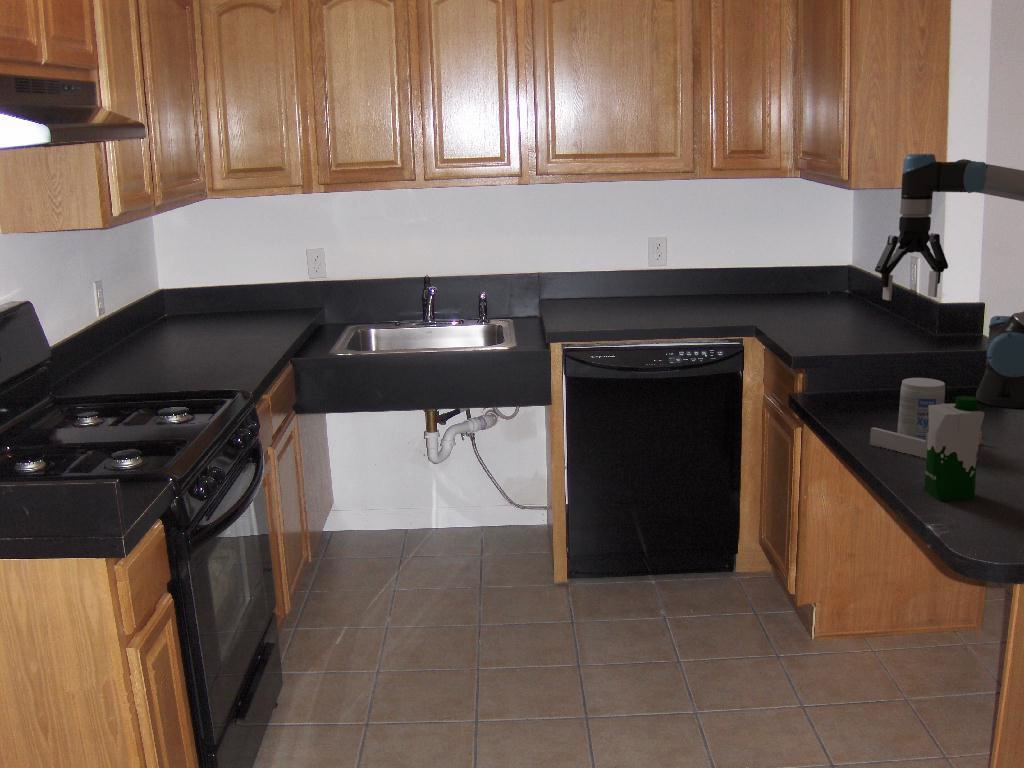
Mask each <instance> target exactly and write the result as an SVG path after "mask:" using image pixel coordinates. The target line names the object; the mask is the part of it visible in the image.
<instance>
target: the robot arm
mask: <svg viewBox="0 0 1024 768" xmlns="http://www.w3.org/2000/svg"><path fill="white" fill-rule="evenodd" d="M900 191H901V197H900V208H899V209H900V210H899V214H900V215H902V216H900V217H899V221H898V222H899V223H898V230H899V235H898V236H897V235H888V236H887V242H886V245H885V247H884V248H883V252H882V253H881V256H880V257H879V260H878V262H877V264H876V266H875V268H874V272H876V273H879V274H880V275H881V279H880V286H881V288H882V300H883V301H884V300H886V301H892V294H893V279H894V276H893V274H891V273H892V272H893V271H894V270H895V268H896V267H897V266H898V264H899V263H900V262H901V260H902V259H903V258H904V256H905V255H907V254H908V253H911V254H913V253H920V254H921V255H922V256H923V258H924V259H925V261H926V262H927V265H929V267H930V268H931V270H932V271H931V270H930V271H929V273H928V274H929V275H928V285H927V287H928V288H927V297H930V298H937V297H938V287H939V286H938V285H940V283H941V277H942V275H941V273H944V271H945V270H948V268H949V263H948V261H947V258H946V255H945V253H944V251H943V248H942V245H941V235H940V234H939V233H933V232H932V233H929V231H930V230H931V224H932V222H931V221H932V218H931V216H930V215H932V213H933V198H934V193H967V194H971V193H972V194H973V193H976V194H977V193H978V194H983V195H988V196H994V197H997V198H998V197H999V198H1003V199H1009V200H1015V201H1020V202H1024V170H1023V169H1018V168H1014V167H1013V168H1012V167H1008V166H1007V167H1006V166H1002V165H995V164H994V165H993V164H991V163H990V164H989V163H986V162H985V161H976V160H971V159H965V158H962V159H959V160H956V161H937V159H936V155H935V154H934V153H912V154H911V153H910V154H907V155H906V156H905V157H904V158H903V166H902V173H901V190H900ZM928 243H930V247H931V248H930V247H929V245H928ZM897 245H898V246H897ZM931 250H932V251H931ZM932 252H933V253H932ZM987 341H988V343H987V349H986V361H985V362H986V363H985V372H984V375H983V377H982V379H981V382H980V384H979V387H978V388H977V389H976V393H975V394H976V395H975V397H976V398H978V402H979V401H980V403H981V402H982V404H984V403H985V405H987V406H988V405H989V406H993V407H1001V408H1009V409H1011V408H1012V409H1013V408H1014V409H1024V310H1023V311H1021V312H1014V313H1012V315H1011V316H1010V315H1008V316H1007V315H995V316H992V317H991V318H990V321H989V324H988V340H987Z"/></svg>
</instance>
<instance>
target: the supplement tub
mask: <svg viewBox="0 0 1024 768" xmlns="http://www.w3.org/2000/svg"><path fill="white" fill-rule="evenodd" d="M899 394H900V395H899V407H898V408H899V409H898V421H897V432H896V433H899V434H903V435H907V436H911V437H915V438H919V439H923V440H926V433H928V432H929V407H928V405H940V404H945V396H946V383H945V382H944V381H942V380H939V379H935V378H926V377H910V378H909V377H908V378H905V379H903V380H902V381H901V386H900V393H899Z"/></svg>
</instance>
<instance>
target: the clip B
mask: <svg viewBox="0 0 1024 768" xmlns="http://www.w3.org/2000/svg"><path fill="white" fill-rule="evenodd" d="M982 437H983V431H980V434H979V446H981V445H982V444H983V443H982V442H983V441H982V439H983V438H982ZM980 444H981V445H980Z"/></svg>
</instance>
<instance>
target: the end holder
mask: <svg viewBox="0 0 1024 768" xmlns="http://www.w3.org/2000/svg"><path fill="white" fill-rule="evenodd" d="M869 445H870V446H874V447H878V448H880V447H882V448H881V449H884V448H886V449H885V450H888V449H890V450H889V451H892V450H895V451H898V452H897V453H899V452H902V453H901V454H903V453H907V454H912V455H916V456H920V457H924V458H927V445H928V433H926V440H923V439H919V438H915V437H911V436H907V435H903V434H899V433H897V432H894V431H891V430H888V429H887V430H885V429H883V428H879V427H875V426H874V427H871V428H870V436H869ZM895 451H894V452H895ZM907 454H906V455H907Z"/></svg>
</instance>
